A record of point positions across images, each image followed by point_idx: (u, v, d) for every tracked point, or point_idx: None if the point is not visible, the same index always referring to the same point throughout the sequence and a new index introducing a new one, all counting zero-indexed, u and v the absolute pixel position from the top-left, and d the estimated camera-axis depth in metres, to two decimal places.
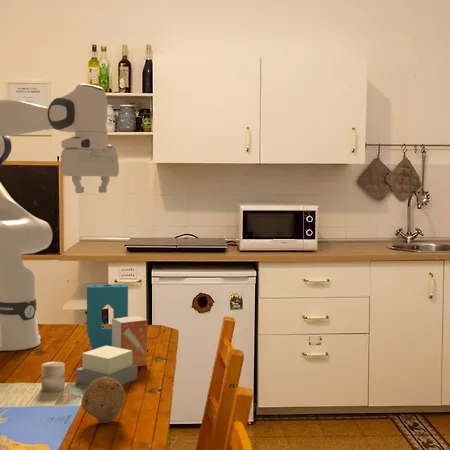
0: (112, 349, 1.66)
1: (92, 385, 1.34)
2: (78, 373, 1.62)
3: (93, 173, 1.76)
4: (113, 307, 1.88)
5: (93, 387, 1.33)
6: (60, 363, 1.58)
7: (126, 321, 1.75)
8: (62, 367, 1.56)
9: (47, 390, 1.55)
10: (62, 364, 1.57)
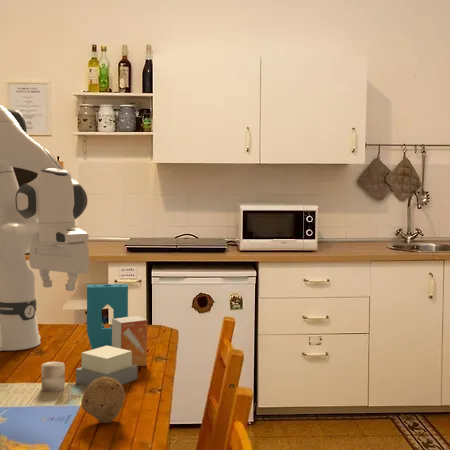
0: (112, 349, 1.66)
1: (92, 385, 1.34)
2: (78, 373, 1.62)
3: None
4: (113, 307, 1.88)
5: (93, 387, 1.33)
6: (60, 363, 1.58)
7: (126, 321, 1.75)
8: (62, 367, 1.56)
9: (47, 390, 1.55)
10: (62, 364, 1.57)
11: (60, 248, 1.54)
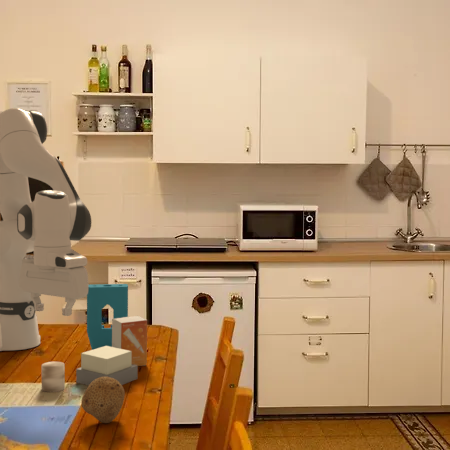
0: (111, 349, 1.66)
1: (92, 385, 1.34)
2: (78, 373, 1.62)
3: None
4: (113, 307, 1.88)
5: (93, 387, 1.33)
6: (60, 363, 1.58)
7: (126, 321, 1.75)
8: (62, 367, 1.56)
9: (47, 390, 1.55)
10: (62, 364, 1.57)
11: (58, 272, 1.51)
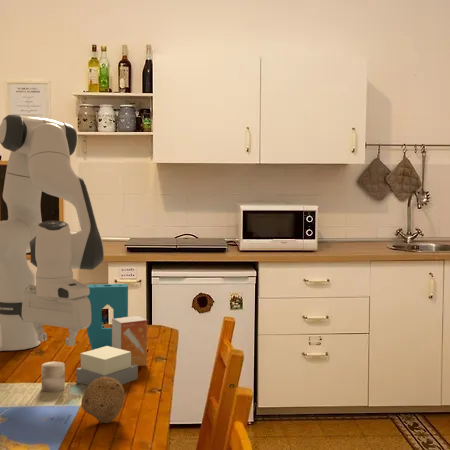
0: (111, 349, 1.66)
1: (92, 385, 1.34)
2: (78, 373, 1.62)
3: None
4: (113, 307, 1.88)
5: (93, 387, 1.33)
6: (60, 363, 1.58)
7: (126, 321, 1.75)
8: (62, 367, 1.56)
9: (47, 390, 1.55)
10: (62, 364, 1.57)
11: (61, 303, 1.52)
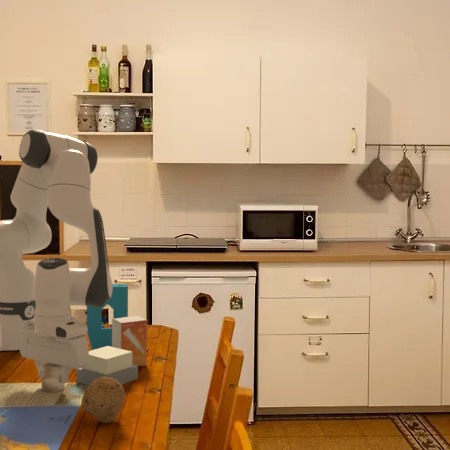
0: (112, 349, 1.66)
1: (92, 385, 1.34)
2: (79, 373, 1.62)
3: None
4: (113, 307, 1.88)
5: (93, 387, 1.33)
6: None
7: (126, 321, 1.75)
8: None
9: (47, 390, 1.55)
10: None
11: (59, 342, 1.53)
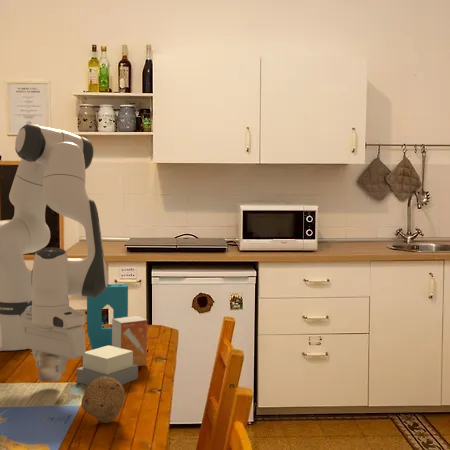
0: (113, 349, 1.66)
1: (92, 385, 1.34)
2: (79, 373, 1.62)
3: None
4: (113, 307, 1.88)
5: (93, 387, 1.33)
6: None
7: (126, 321, 1.75)
8: None
9: (44, 380, 1.55)
10: None
11: (56, 332, 1.52)
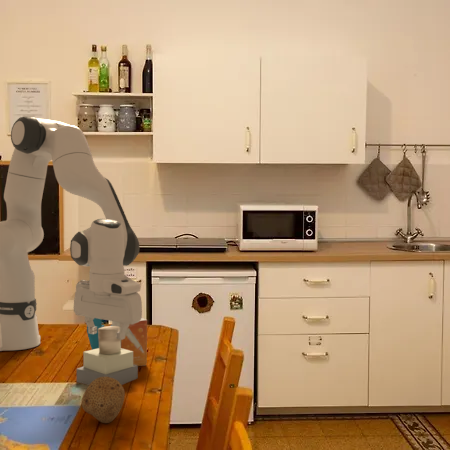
0: None
1: (92, 385, 1.34)
2: (78, 373, 1.62)
3: None
4: None
5: (93, 387, 1.33)
6: (116, 327, 1.64)
7: None
8: (115, 331, 1.62)
9: (102, 352, 1.62)
10: (117, 328, 1.63)
11: (113, 298, 1.59)
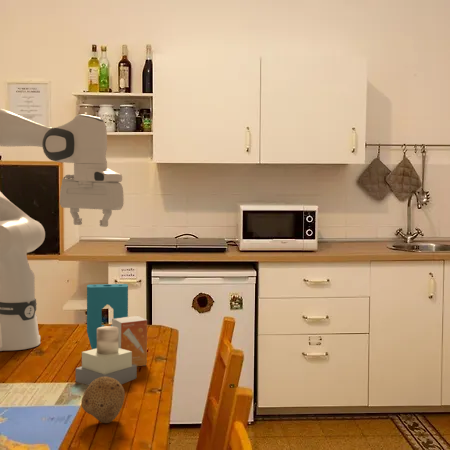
0: None
1: (92, 385, 1.34)
2: (77, 372, 1.62)
3: None
4: (113, 307, 1.88)
5: (93, 387, 1.33)
6: (115, 328, 1.64)
7: (126, 321, 1.75)
8: (114, 331, 1.62)
9: (100, 352, 1.62)
10: (116, 329, 1.63)
11: (97, 187, 1.69)
